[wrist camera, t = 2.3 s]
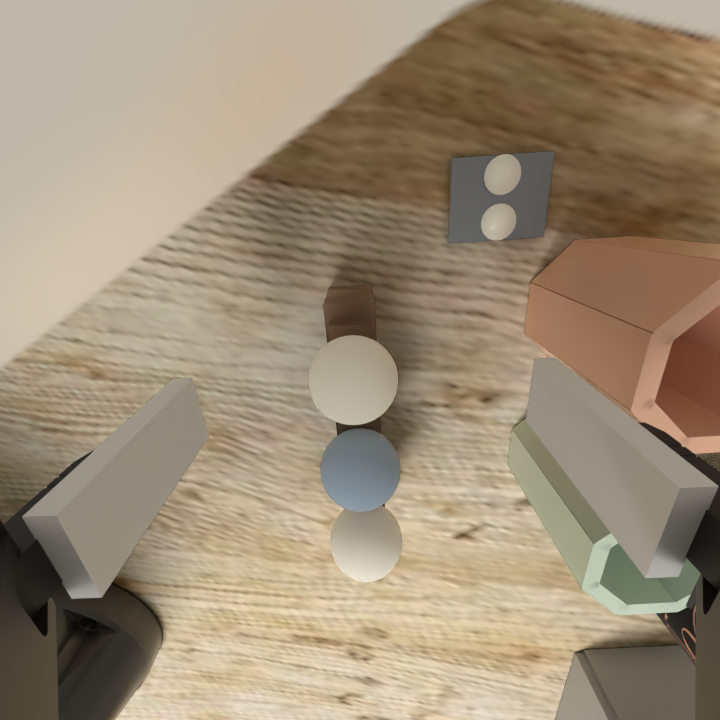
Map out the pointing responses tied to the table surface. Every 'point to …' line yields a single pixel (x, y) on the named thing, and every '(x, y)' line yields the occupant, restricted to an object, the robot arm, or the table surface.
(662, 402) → the tubes
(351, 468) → the blue ball
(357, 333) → the rack
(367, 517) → the cream ball
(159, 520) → the table surface
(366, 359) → the cream ball
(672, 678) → the box
